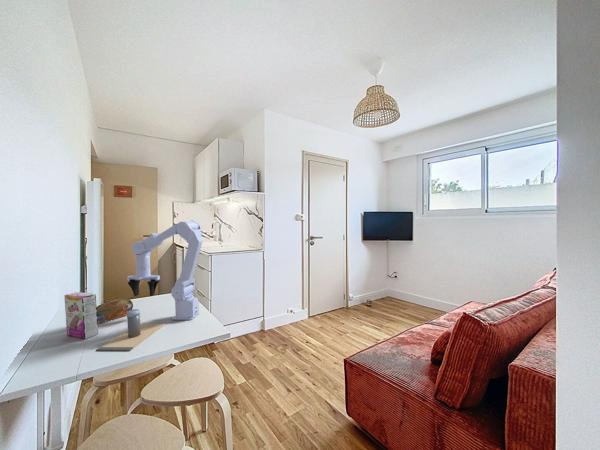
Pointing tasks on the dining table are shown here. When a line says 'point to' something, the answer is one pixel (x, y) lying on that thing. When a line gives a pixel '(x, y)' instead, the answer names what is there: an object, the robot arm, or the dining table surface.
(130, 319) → the blue grey cylinder
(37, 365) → the dining table surface
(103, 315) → the tin
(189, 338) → the dining table surface
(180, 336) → the dining table surface
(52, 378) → the dining table surface
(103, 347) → the notepad
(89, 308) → the candy bar box
